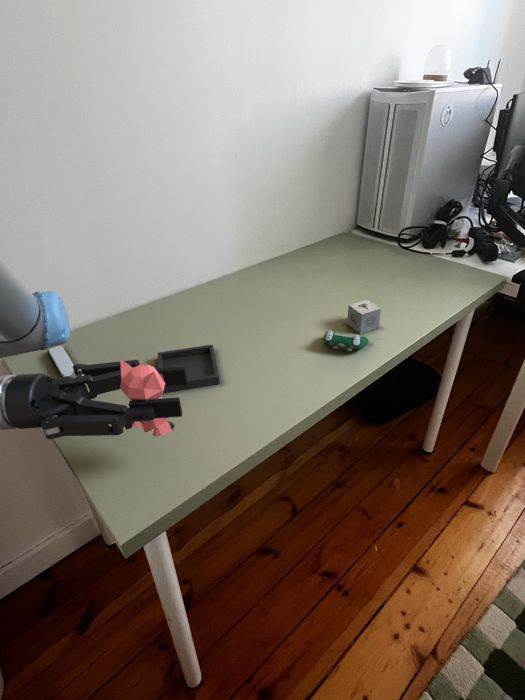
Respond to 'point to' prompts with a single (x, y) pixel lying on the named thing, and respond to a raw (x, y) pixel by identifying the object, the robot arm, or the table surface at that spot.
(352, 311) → the dice cube
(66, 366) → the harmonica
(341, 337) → the green elongated piece
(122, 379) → the cat figurine
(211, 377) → the black tray
